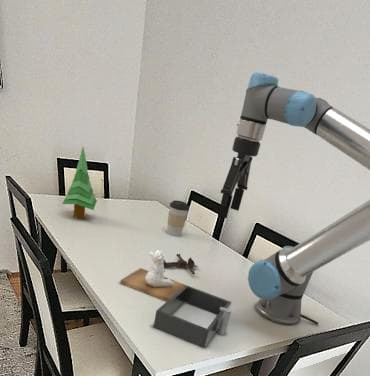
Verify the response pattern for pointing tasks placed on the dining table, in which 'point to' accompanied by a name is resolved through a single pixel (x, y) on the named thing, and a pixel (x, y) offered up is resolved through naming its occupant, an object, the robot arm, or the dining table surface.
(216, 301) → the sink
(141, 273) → the board
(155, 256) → the white creature statuette
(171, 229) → the coffee cup
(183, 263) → the brown humanoid figurine
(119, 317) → the dining table surface
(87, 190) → the decorative tree
